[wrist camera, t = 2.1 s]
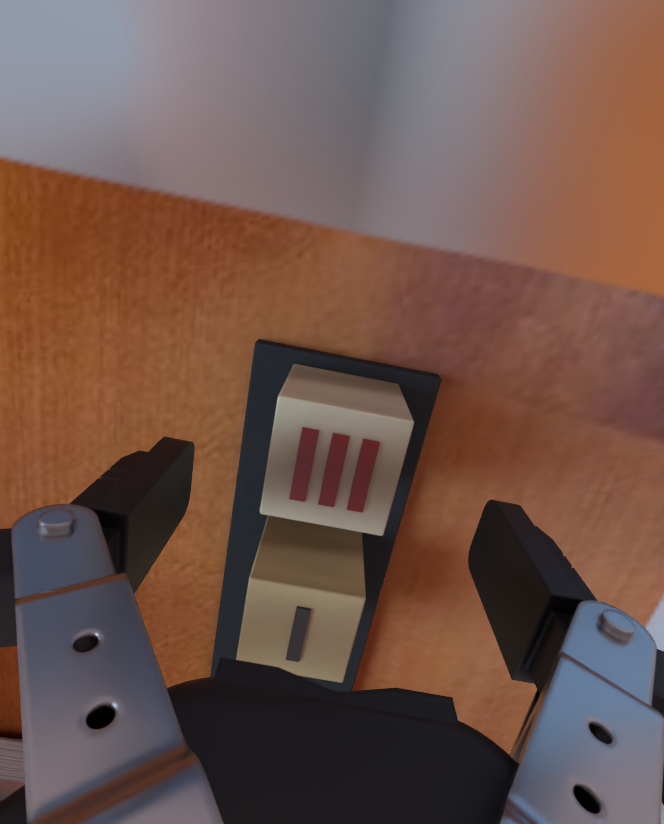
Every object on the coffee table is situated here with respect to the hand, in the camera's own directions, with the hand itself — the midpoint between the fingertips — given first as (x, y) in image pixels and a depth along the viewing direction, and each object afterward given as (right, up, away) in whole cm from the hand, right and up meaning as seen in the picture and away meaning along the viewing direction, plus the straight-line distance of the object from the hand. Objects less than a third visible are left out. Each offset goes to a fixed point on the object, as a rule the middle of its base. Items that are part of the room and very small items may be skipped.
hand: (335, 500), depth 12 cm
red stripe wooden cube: (0, +2, +5) cm, 6 cm away
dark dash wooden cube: (-1, -4, +7) cm, 8 cm away
